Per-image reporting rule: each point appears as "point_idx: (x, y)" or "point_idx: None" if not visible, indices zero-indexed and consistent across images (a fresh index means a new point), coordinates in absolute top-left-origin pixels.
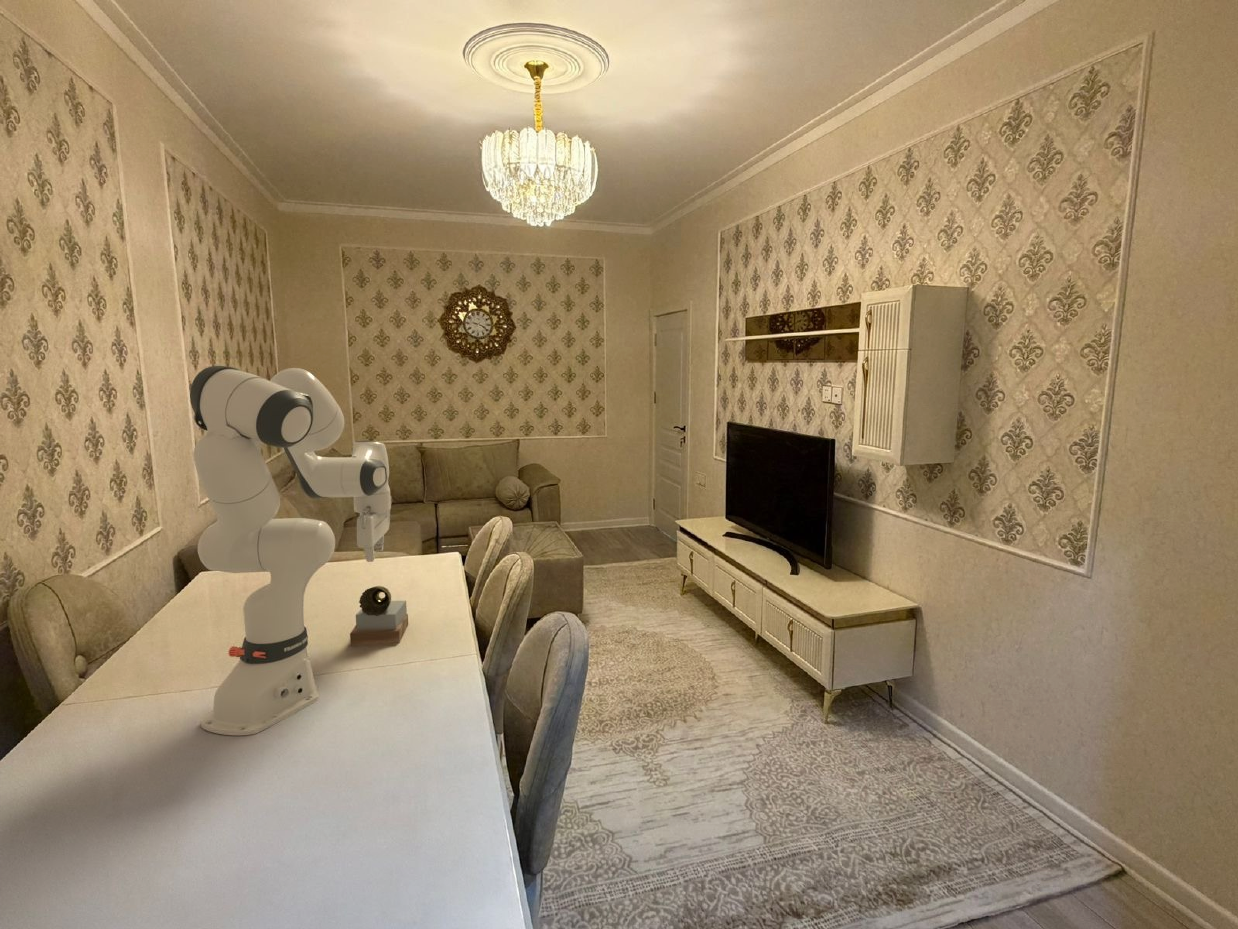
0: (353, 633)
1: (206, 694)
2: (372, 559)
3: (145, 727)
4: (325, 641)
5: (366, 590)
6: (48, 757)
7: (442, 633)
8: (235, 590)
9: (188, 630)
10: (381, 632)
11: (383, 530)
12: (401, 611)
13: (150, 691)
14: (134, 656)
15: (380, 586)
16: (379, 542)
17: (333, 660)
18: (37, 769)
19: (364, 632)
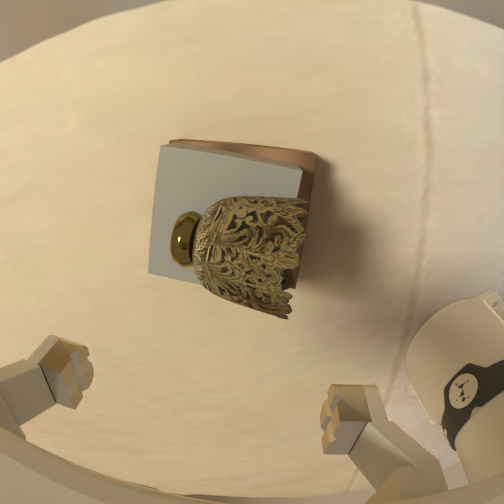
0: (296, 280)
1: (395, 423)
2: (374, 397)
3: (440, 435)
4: (242, 327)
5: (285, 310)
6: (444, 461)
7: (262, 41)
8: (33, 428)
9: (161, 469)
10: (308, 206)
11: (15, 491)
12: (227, 154)
13: (352, 464)
14: (238, 491)
15: (235, 257)
16: (33, 391)
17: (358, 296)
18: (458, 456)
19: (298, 253)
